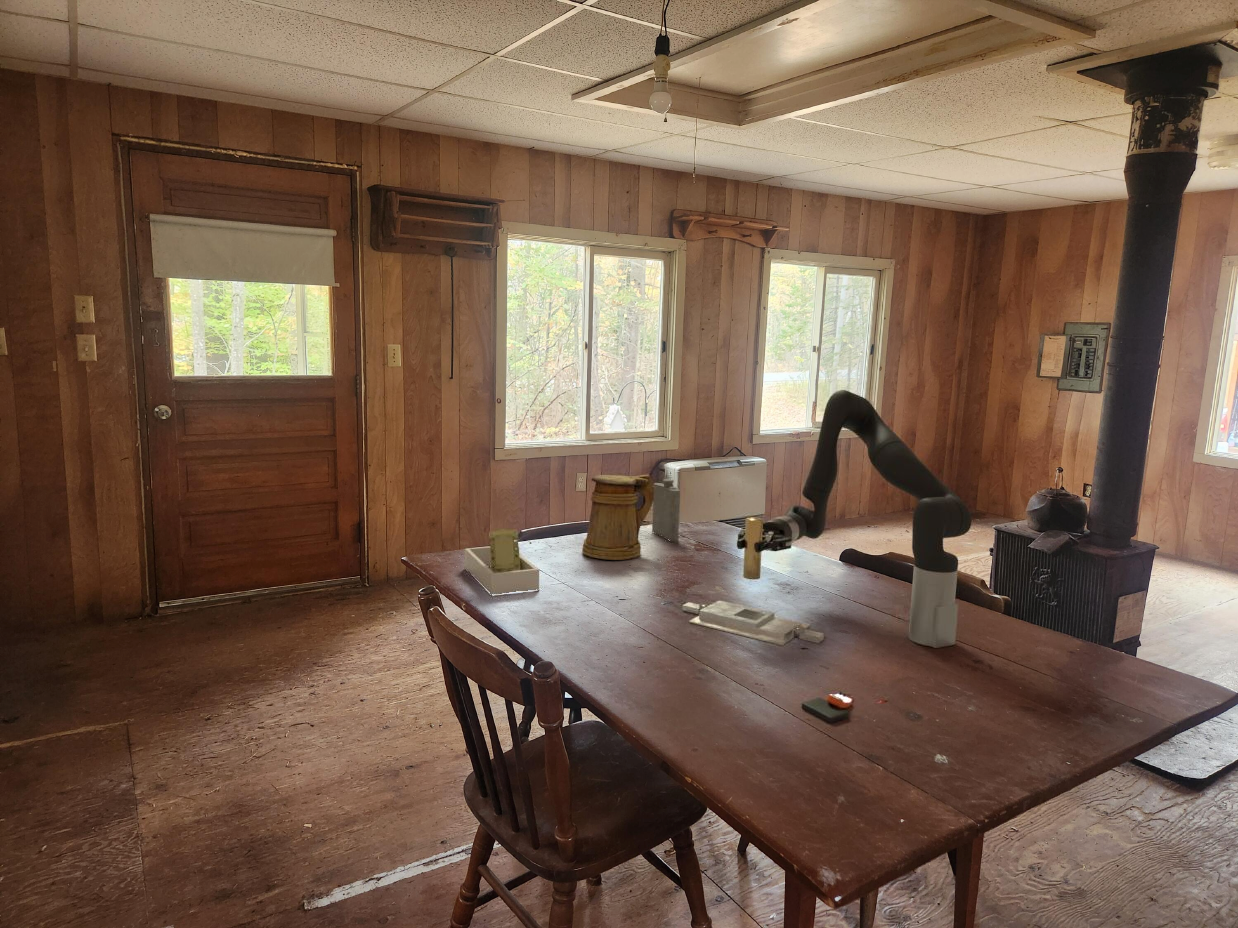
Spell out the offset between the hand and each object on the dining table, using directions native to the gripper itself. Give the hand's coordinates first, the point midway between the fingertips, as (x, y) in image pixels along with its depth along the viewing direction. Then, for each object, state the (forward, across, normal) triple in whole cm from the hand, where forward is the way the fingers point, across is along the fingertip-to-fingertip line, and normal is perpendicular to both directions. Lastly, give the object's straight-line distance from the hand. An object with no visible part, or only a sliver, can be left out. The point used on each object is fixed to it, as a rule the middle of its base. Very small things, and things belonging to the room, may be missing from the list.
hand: (748, 546), depth 188 cm
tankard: (-36, -62, +20) cm, 75 cm away
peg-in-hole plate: (-2, 0, +20) cm, 20 cm away
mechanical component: (+8, -69, +20) cm, 72 cm away
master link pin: (-3, 0, +8) cm, 8 cm away
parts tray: (+9, -71, +20) cm, 74 cm away
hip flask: (-65, -63, +21) cm, 93 cm away
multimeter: (+25, +33, +20) cm, 46 cm away
